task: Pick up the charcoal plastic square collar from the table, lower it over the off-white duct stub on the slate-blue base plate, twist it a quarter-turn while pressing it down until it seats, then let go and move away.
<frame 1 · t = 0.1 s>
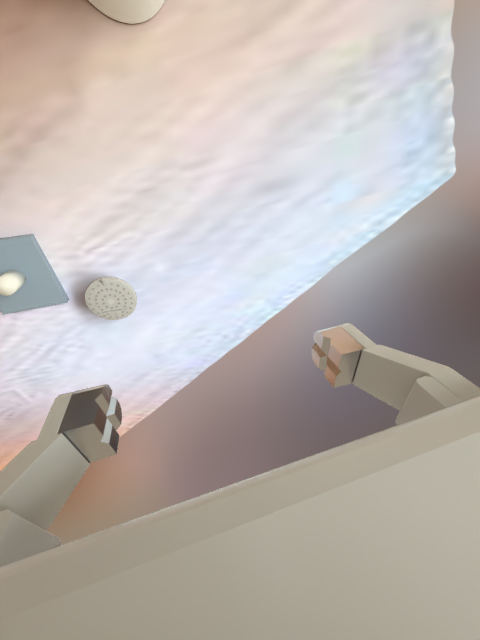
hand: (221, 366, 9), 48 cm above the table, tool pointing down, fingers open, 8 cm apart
showerhead: (115, 286, 54), on the table
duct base: (19, 274, 47), on the table
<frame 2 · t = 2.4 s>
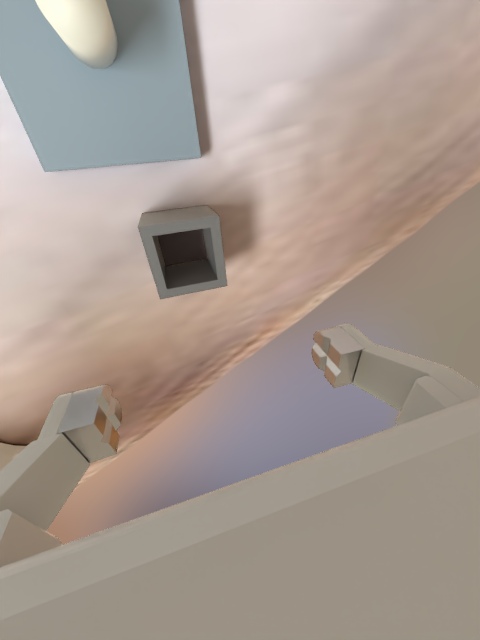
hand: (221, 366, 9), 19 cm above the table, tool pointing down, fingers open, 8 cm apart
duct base: (94, 43, 16), on the table
collar: (182, 241, 25), on the table
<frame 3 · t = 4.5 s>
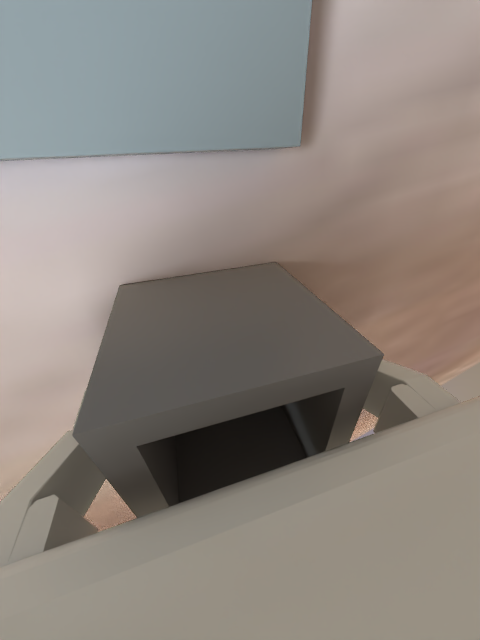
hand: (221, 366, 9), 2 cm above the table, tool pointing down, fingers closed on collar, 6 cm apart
collar: (211, 335, 11), on the table, touching gripper
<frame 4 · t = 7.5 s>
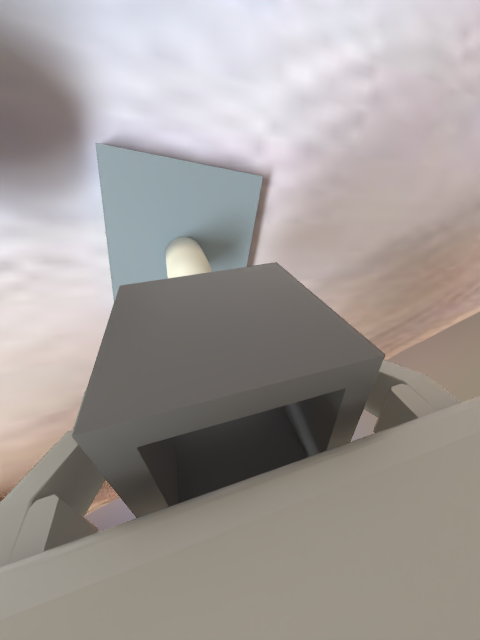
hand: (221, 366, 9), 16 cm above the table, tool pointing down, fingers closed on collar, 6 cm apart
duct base: (182, 250, 22), on the table
collar: (211, 335, 11), point 14 cm above the table, touching gripper
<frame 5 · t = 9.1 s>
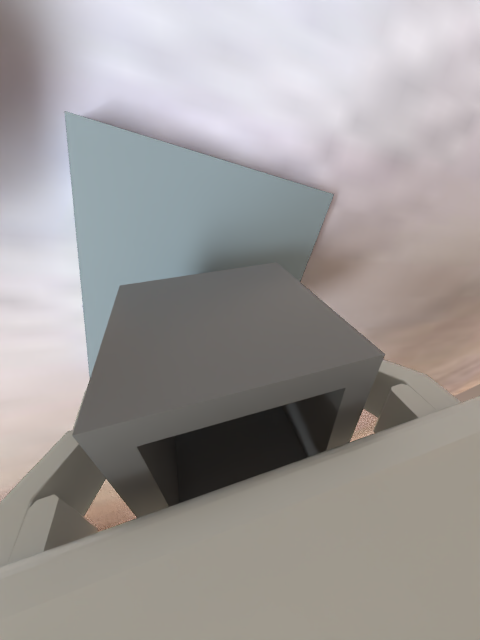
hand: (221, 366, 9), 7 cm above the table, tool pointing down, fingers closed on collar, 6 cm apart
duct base: (198, 289, 15), on the table
collar: (211, 335, 11), point 5 cm above the table, touching gripper
when the fingers open (4 cm above the table, at t = 10.4 s): collar stays where it is, resting on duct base.
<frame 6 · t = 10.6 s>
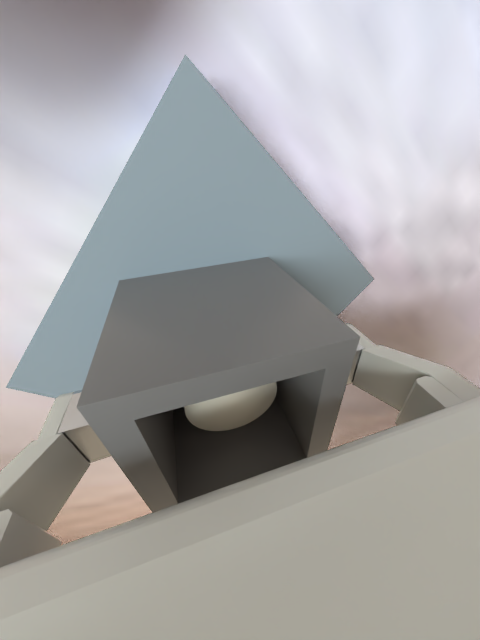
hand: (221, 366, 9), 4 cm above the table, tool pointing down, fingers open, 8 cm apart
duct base: (205, 311, 13), on the table
collar: (208, 327, 12), point 1 cm above the table, touching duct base
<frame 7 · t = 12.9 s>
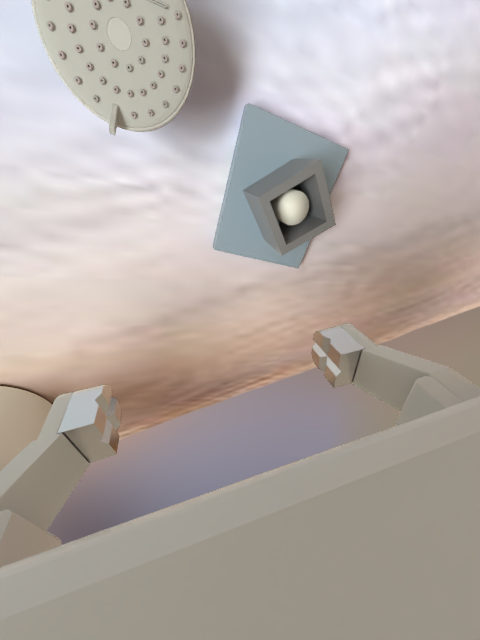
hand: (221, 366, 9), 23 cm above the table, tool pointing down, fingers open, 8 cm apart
showerhead: (133, 72, 21), on the table
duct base: (273, 200, 29), on the table
collar: (277, 202, 28), point 1 cm above the table, touching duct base
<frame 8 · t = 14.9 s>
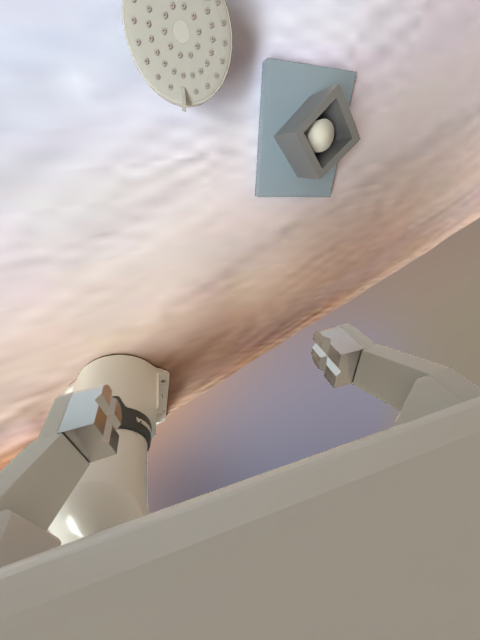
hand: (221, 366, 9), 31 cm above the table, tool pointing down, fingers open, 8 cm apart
showerhead: (176, 63, 26), on the table
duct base: (298, 139, 33), on the table
collar: (303, 139, 32), point 1 cm above the table, touching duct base
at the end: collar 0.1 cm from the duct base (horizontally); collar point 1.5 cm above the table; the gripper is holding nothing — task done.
